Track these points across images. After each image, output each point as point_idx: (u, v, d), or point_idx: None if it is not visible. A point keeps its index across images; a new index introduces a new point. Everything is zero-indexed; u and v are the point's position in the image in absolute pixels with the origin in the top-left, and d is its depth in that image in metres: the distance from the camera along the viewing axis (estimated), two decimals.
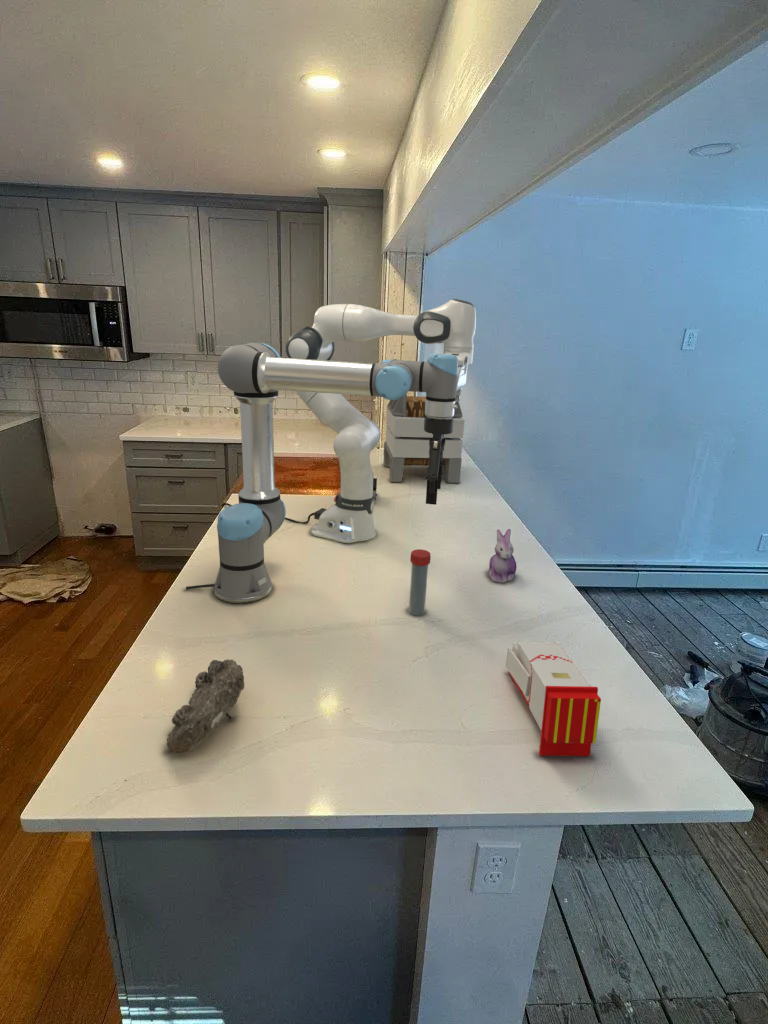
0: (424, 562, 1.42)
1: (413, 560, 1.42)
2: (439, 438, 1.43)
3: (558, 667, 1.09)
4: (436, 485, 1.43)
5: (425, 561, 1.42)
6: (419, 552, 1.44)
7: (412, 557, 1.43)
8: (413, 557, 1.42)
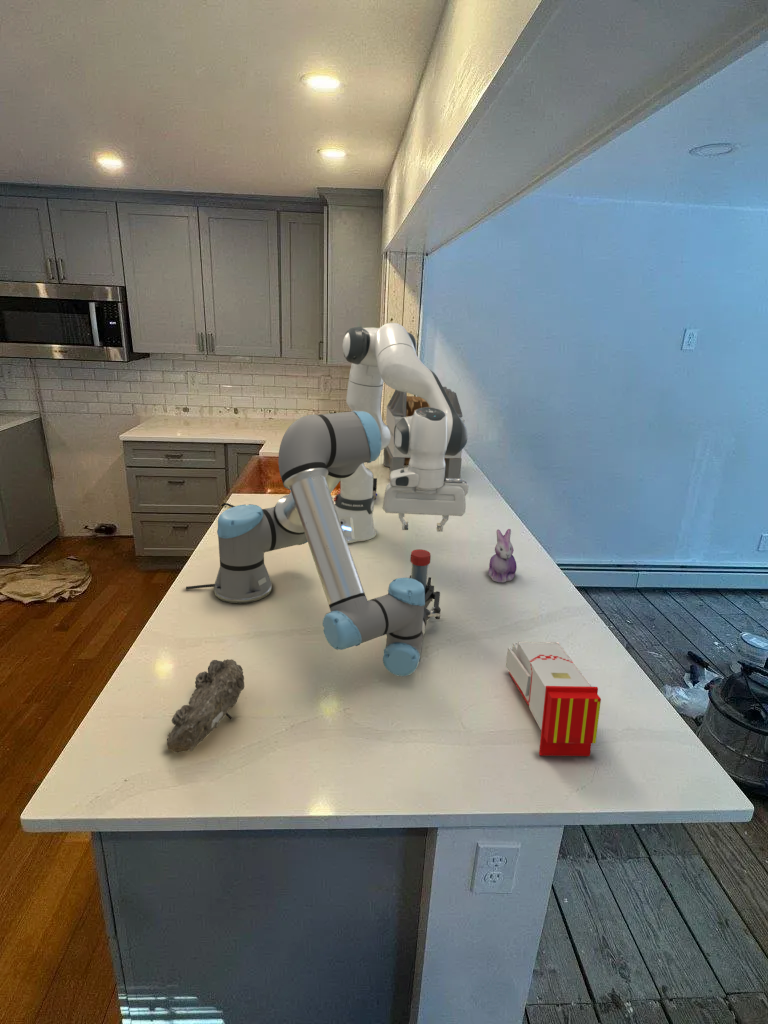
0: (424, 562, 1.42)
1: (413, 560, 1.42)
2: None
3: (558, 667, 1.09)
4: None
5: (425, 561, 1.42)
6: (419, 552, 1.44)
7: (412, 557, 1.43)
8: (413, 557, 1.42)
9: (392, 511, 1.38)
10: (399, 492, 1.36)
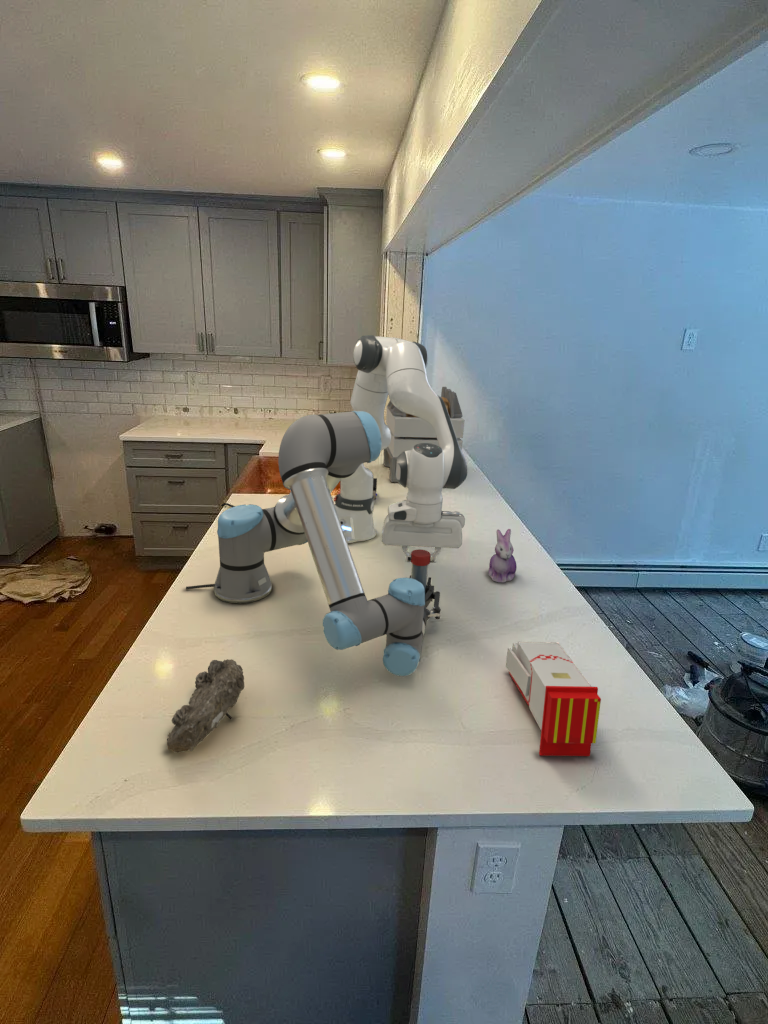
0: (424, 562, 1.42)
1: (413, 560, 1.42)
2: None
3: (558, 667, 1.09)
4: None
5: (425, 561, 1.42)
6: (419, 552, 1.44)
7: (412, 557, 1.43)
8: (413, 557, 1.42)
9: (390, 544, 1.41)
10: (397, 525, 1.39)
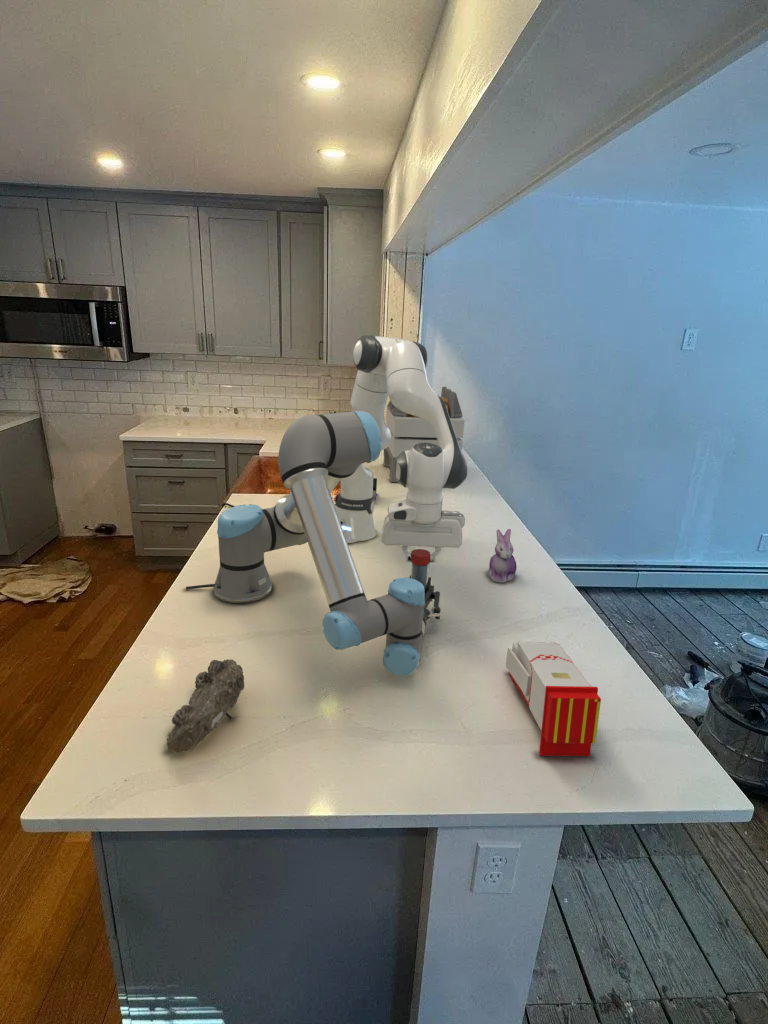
0: None
1: (427, 560, 1.42)
2: None
3: (558, 667, 1.09)
4: None
5: None
6: (419, 553, 1.43)
7: (426, 558, 1.42)
8: (427, 557, 1.42)
9: (390, 543, 1.41)
10: (397, 525, 1.39)
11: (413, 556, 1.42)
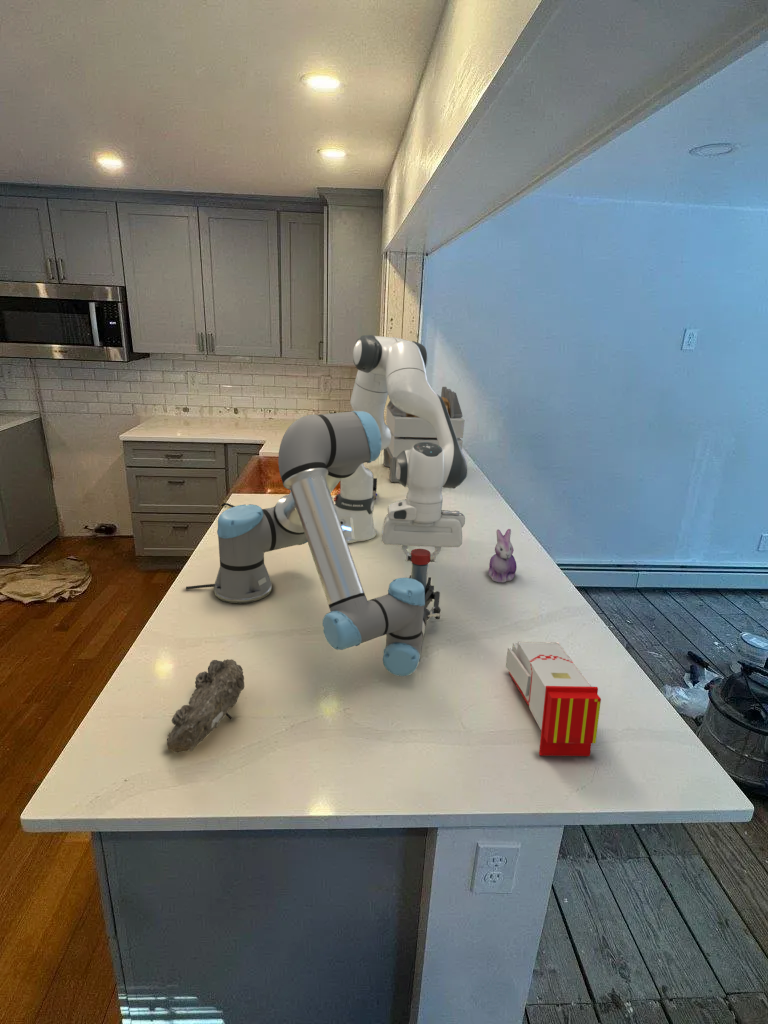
0: None
1: None
2: None
3: (558, 667, 1.09)
4: None
5: None
6: (422, 552, 1.43)
7: None
8: None
9: (390, 543, 1.41)
10: (397, 525, 1.39)
11: (428, 556, 1.42)
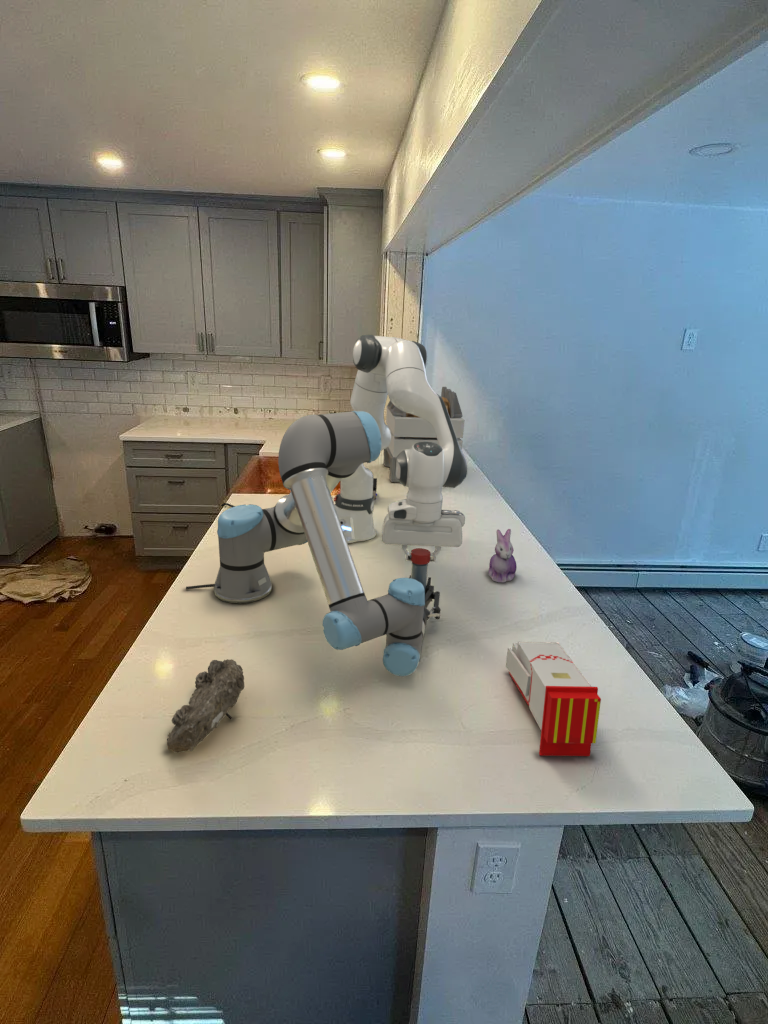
0: (413, 559, 1.42)
1: None
2: None
3: (558, 667, 1.09)
4: None
5: (414, 559, 1.42)
6: (421, 551, 1.44)
7: None
8: None
9: (390, 542, 1.40)
10: (397, 524, 1.39)
11: None
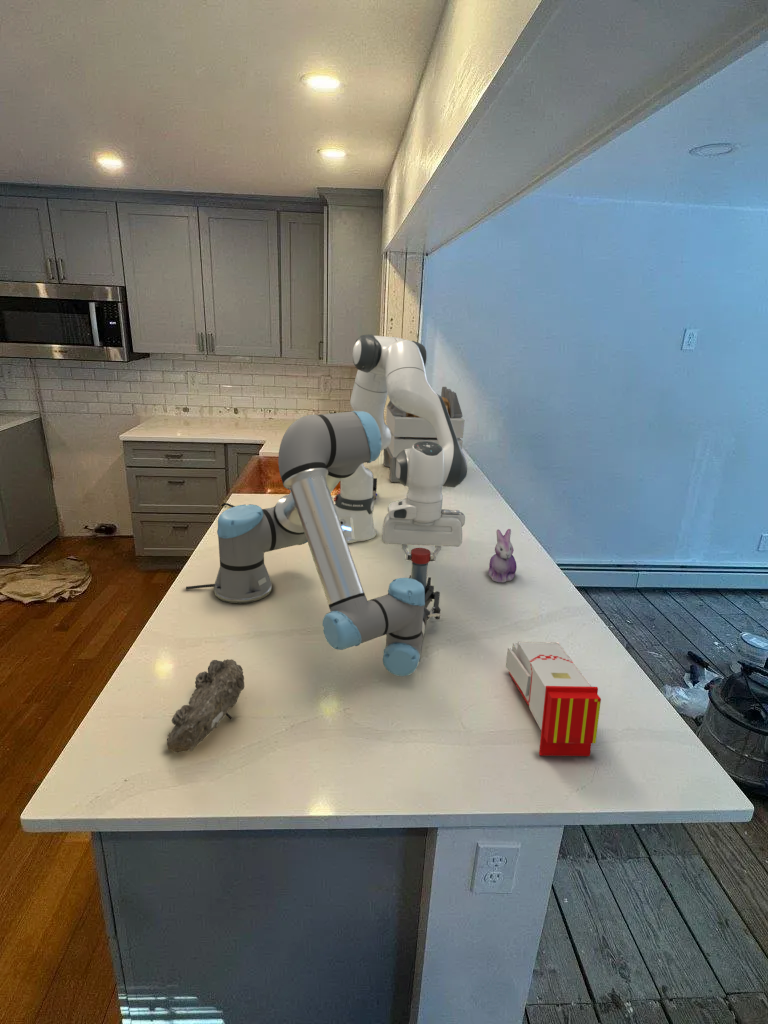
0: (427, 559, 1.42)
1: (417, 559, 1.42)
2: None
3: (558, 667, 1.09)
4: None
5: (428, 558, 1.42)
6: (419, 550, 1.44)
7: (415, 557, 1.42)
8: (417, 556, 1.41)
9: (390, 542, 1.40)
10: (397, 524, 1.39)
11: None
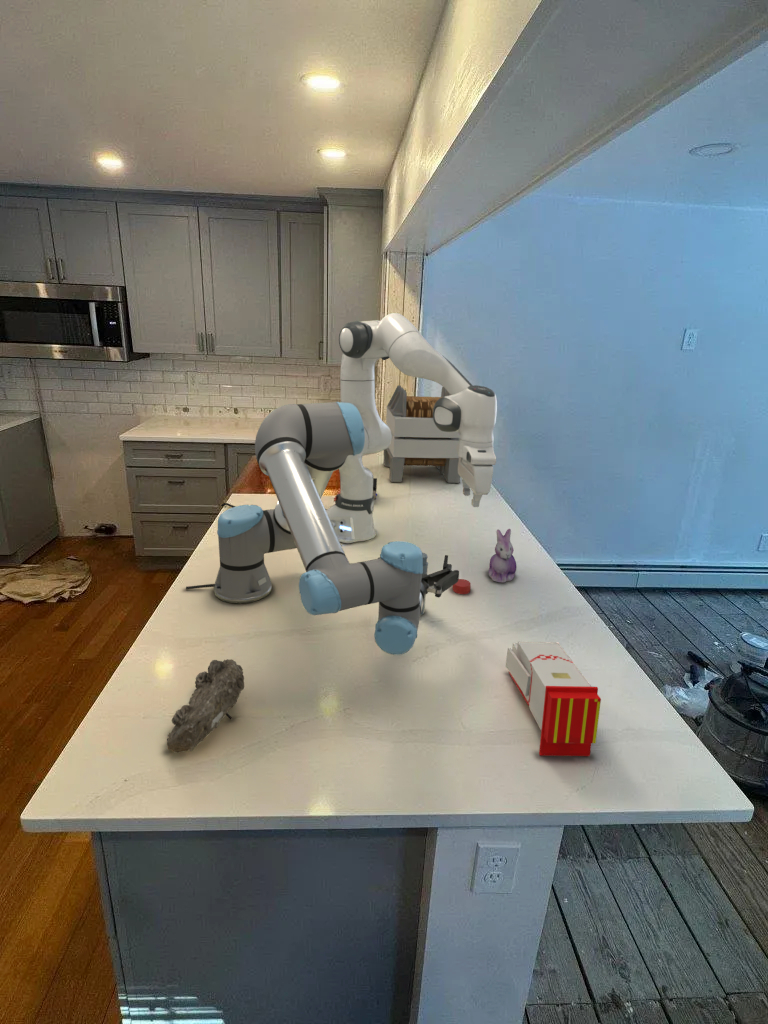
0: None
1: (469, 588, 1.61)
2: None
3: (558, 667, 1.09)
4: None
5: None
6: (461, 583, 1.60)
7: (469, 587, 1.60)
8: (470, 586, 1.60)
9: None
10: None
11: (459, 587, 1.59)
